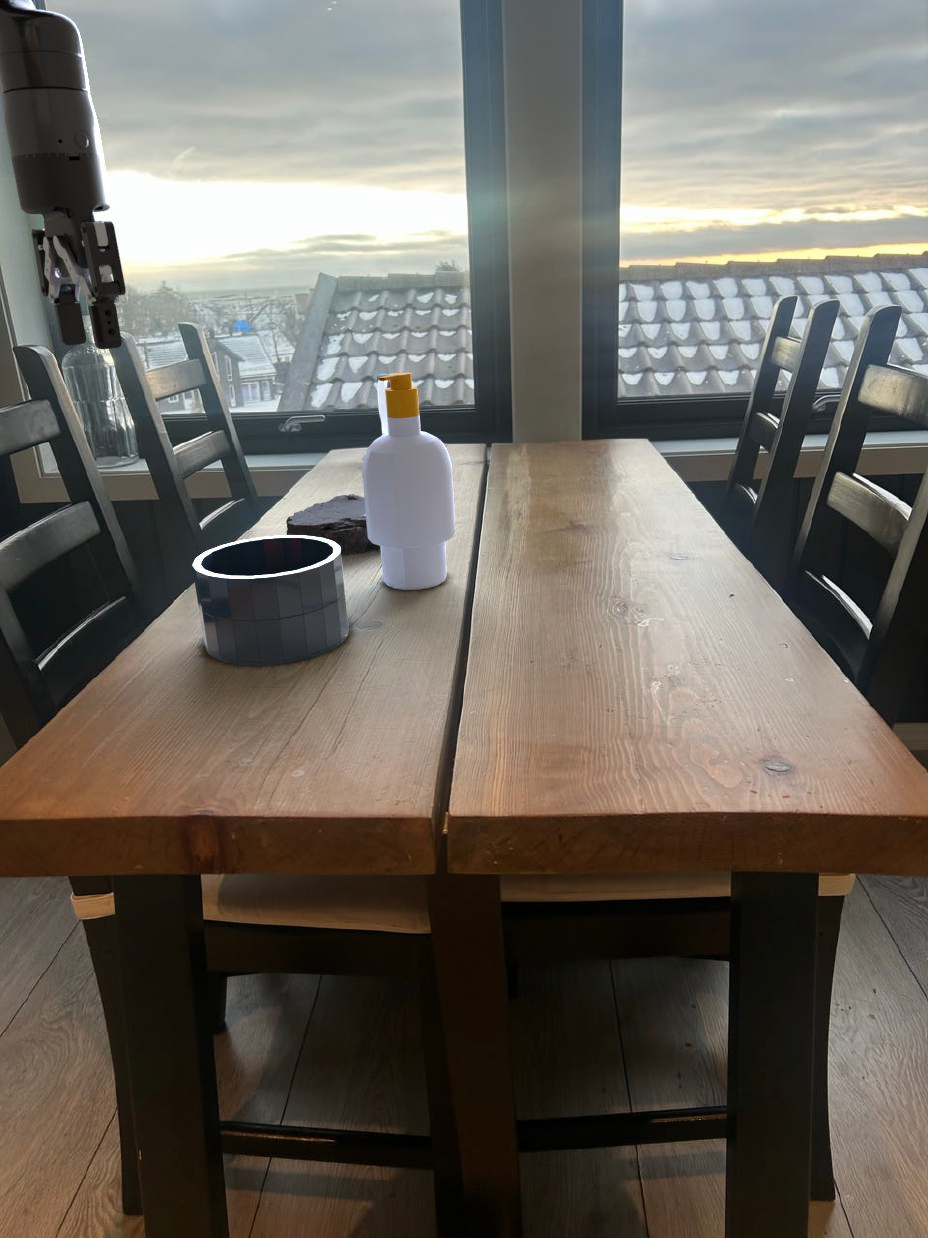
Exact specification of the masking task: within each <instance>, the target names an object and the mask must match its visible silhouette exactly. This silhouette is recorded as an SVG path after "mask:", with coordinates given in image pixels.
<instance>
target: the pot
mask: <svg viewBox="0 0 928 1238" xmlns="http://www.w3.org/2000/svg"><path fill="white" fill-rule="evenodd" d="M191 569H192V574H193V581H194V586H195V594H196V600H197V606H198V613H199V618H200V625H201V626H200V627H201V632H202V639H203V644H204V646H205V650H206V652H207V654H208V655H209V656H210V657H212V658H213V659H215V660H218V661H220V662H223V663H227V664H232V665H238V666H251V667H252V666H254V667H255V666H256V667H257V666H258V667H259V666H273V665H274V666H275V665H283V664H284V665H285V664H289V663H290V664H291V663H295V662H299V661H304V660H308V659H311V658H315V657H317V656H321V655H323V654H325V653H327V652H330V651H332V650H334V649H336V648H337V647H339V646H341V644H343V643H344V642H345V641H346V639H347V638H348V636H349V633H350V628H349V626H350V625H349V613H348V605H347V596H346V595H347V594H346V584H345V574H344V564H343V555H342V553H341V547H340V546H339V545H338V544H336V543H335V542H334V541H331V540H327V539H324V538H319V537H311V536H287V535H273V536H272V535H271V536H260V537H255V538H249V539H242V540H238V541H233V542H229V543H226V544H222V545H219V546H217V547H214V548H211V549H208V550H206V551H204V552H202V553H201V554H200V555H198V556H197V557H195V559H194V560H193V562H192V564H191Z"/></svg>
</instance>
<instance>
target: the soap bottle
mask: <svg viewBox="0 0 928 1238" xmlns="http://www.w3.org/2000/svg"><path fill="white" fill-rule="evenodd" d="M389 374H390V375H388V376H383V377H378V378H379V381H389V380H390V388H387V389H385V395H386V407H387V422H388V434H385V435H382V434H381V436H379V437H378V438H376V439H375V440H373V441H372V442H371V444H370V445H369V446H368V448H367V449H366V452H365V455H364V457H363V462H362V467H361V475H362V477H361V479H362V485H363V486H362V487H363V497H364V500H365V511H366V522H367V533H368V539H369V540H370V541H371V542H372V543H373V544H376V545H380V549H381V550H380V559H381V571H382V580H383V582H384V583H385V584H386V586H388V587H389V588H391V589H396V590H400V591H401V590H402V591H418V590H425V589H430V588H434V587H436V586H439V585H441V584H443V583H444V582H445V581H446V579H447V574H448V568H447V567H448V566H447V552H446V551H447V550H446V542H447V541H449V540H450V539H452V538H454V537H455V534H456V531H457V528H456V526H457V525H456V510H455V494H454V477H453V476H454V475H453V463H452V459H451V456H450V453H449V451H448V448H447V447H446V446H445V444H444V442H443V441H442V440H441V439H440V438H438V437H437V436H435V435H433V434H430V433H429V432H426V431H421V430H422V429H421V417H420V404H419V403H420V402H419V401H420V400H419V388H418V387H417V386H413V380H412V372H392V373H389Z"/></svg>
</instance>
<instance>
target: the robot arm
mask: <svg viewBox="0 0 928 1238" xmlns="http://www.w3.org/2000/svg"><path fill="white" fill-rule="evenodd" d="M0 90H1V94H2V102H3V116H4V126H5V127H4V128H5V133H6V137H7V143H8V149H9V153H10V154H9V155H10V158H11V159H10V160H11V164H12V170H13V174H14V179H15V184H16V190H17V197H18V200H19V206H20V209H21V210H22V211H23V213H25V214H28V215H41V216H42V217H43V225H44V228H32V229H31V239H32V244H33V250H34V257H35V263H36V269H37V274H38V280H39V285H40V293H41V294H42V296H43V297H48V299H49V302H50V303H51V304H52V305H53V306H54V313H55V317H56V322H57V327H58V328H57V329H58V333H59V338H60V342H61V344H63V346H77V345H84V344H85V343H86V342H87V334H86V328H85V323H84V322H85V321H84V319H83V312H82V311H83V310H82V306H81V303H80V295H81V290H82V292H83V294H84V297H85V299H86V301H87V303H88V304H89V305H87V309H88V314H89V319H90V326H91V331H92V337H93V342H94V346H95V347H96V348H97V349H99V350H111V349H119V348H120V347H121V346H122V344H123V341H122V334H121V330H120V323H119V316H118V310H117V305H116V303H119V298H120V297H119V296H125V295H126V291H127V290H126V289H127V288H126V283H125V279H124V273H123V267H122V262H121V257H120V256H121V255H120V251H119V245H118V241H117V234H116V229H115V224H114V223H113V221H107V220H106V221H103V220H98V221H97V220H96V215H95V213H99V212H105V211H106V212H107V211H109V209H110V208H111V206H112V201H111V194H110V189H109V183H108V177H107V169H106V163H105V158H104V151H103V146H102V140H101V132H100V127H99V123H98V122H99V121H98V119H97V115H96V111H95V108H94V104H93V101H92V96H91V94H90V93H91V91H90V85H89V78H88V72H87V67H86V61H85V53H84V48H83V42H82V38H81V35H80V31H79V29H78V27H77V25H76V23H75V22H74V21H73V20H72V19H71V18H70V17H69V16H67V15H64V14H62V13H59V12H55V11H51V10H45V9H37V7H36V6H35V5H34V2H33V1H32V0H0Z"/></svg>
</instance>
